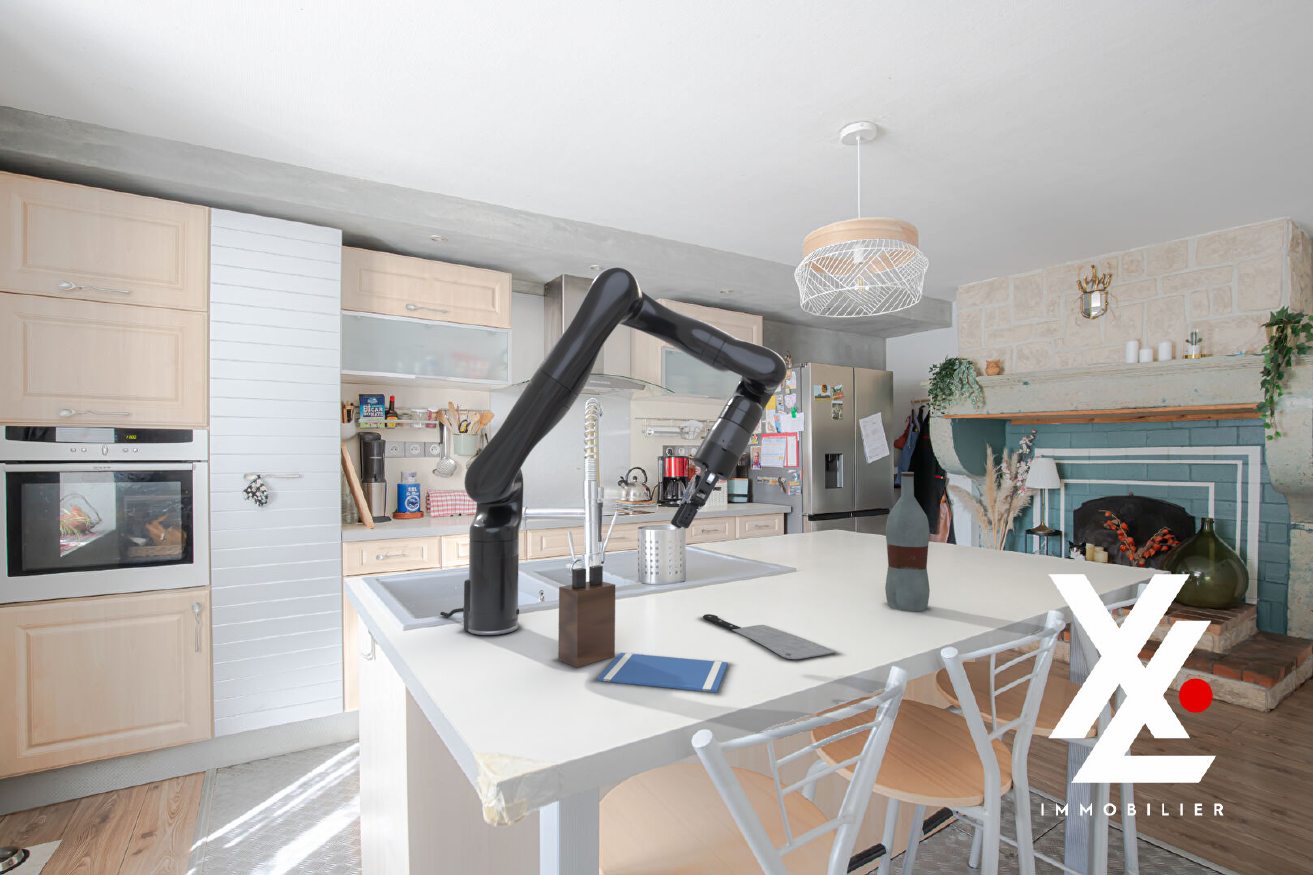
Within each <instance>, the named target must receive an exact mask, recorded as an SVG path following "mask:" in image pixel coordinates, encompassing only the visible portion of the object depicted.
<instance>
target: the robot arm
mask: <svg viewBox="0 0 1313 875" xmlns="http://www.w3.org/2000/svg"><path fill="white" fill-rule="evenodd" d="M618 325H622V326H625V327H628V328H630V329H633V330H636V331H640V332H642V333H645V334H647V335H649V336H652V337H654V338H656V339H658V340H660V341H662V342H664V343H666V344H668V345H669V346H672V347H673V348H675V349H677V350H678V351H680V352H682V353H684V354H685V355H687V356H689V357H691V358H693V359H695V360H696V361H698V362H701V363H702V364H704V365H706V366H708V367H709V368H711V369H714V370H716V371H718V372H721V373H727V372H732V373H734V374H737V375H739V376H741V378H740V379H739V381H738V383H737V385H736V387H735V389H734V391H733V393H732V395H731V396H730V397H729V398H728V400H727V402H726V403H725V405H724V406H723V408H722V409H721V411H720V413H719V415H718V416H717V419H716V420H715V421H714V423H713V424H712V425H711V426H710V428H709V430H708V432H707V433H706V434H705V437H704V438H703V439H702V442H701V443H700V445H699V447H698V449H697V451H696V452H695V454H694V456H693V457H692V463H693V464H694V465H695V466H696V467H697V468H699V469H700V472H699V473H698V474H697V473H696V474H694V475H693V476H692V477H691V479H690V481H689V484H688V485H687V487H686V488H685V490H684V492H683V495H682V497H681V498H680V500H679V505H678V508H677V510H676V511H675V514H674V515H673V517H672V519H671V520H670V525H672V526H673V527H675V528H677V529H682V528H684V529H689V527H690V526H691V524H692V522H693V521H694V519H695V518H696V515H697V514H698V512H699V511H700V510H701V509H702V508H704V506H706V504H707V501H708V500H709V498H710V495H711V493H712V492H713V491H714V489H715V487H716V484H717V483H718V482H719V480H721V481H728V480H730V479H731V477H732V475H733V473H734V470H735V469H736V467H737V465H738V464H739V462H740V460H741V459H742V457H743V455H744V453H745V451H746V449H747V447H748V445H749V442H750V440H751V437H752V436H753V434H754V433H755V431H756V429H757V427H758V425H759V423H760V421H761V419H762V417H763V412H764V410H765V408H766V407H767V405H768V404H769V402H770V400H771V399H772V397H773V396H774V394H775V392H776V391H777V389H778V388H779V387H780V385H781V384H782V383H783V382H784V380H785V379H786V376H787V372H788V367H787V364H786V362H785V360H784V358H783V357H782V356H781V355H779V354H778V353H777V352H775V351H774V350H772V349H770V348H769V347H766V346H763V345H760V344H757V343H753V342H751V341H748V340H742V339H739V338H736V337H735V336H733V335H732V334H730V333H728V332H726V331H724V330H722V329H720V328H718V327H716V326H714V325H713V324H710V323H708V322H706V321H704V320H701V319H698V318H696V317H693V316H689V315H686V314H683V313H681V312H679V311H676V310H674V309H672V308H669V307H668V306H666V305H664V304H662V303H660V302H658V300H656V299H654V298H653V297H651V296H650V295H648V294H647V293H646V292H645V291H643V289H641V286H640V284H639V282H638V280H637V278H636V277H635V275H634V274H633V273H632V272H631V271H630V270H628V269H627V268H625V267H621V266H613V267H609V268H607V269H604V270H602V271H600V272H599V273H598V275H596V276H595V278H593V281H592V283H591V284H590V286H589V288H588V290H587V292H586V294H585V296H584V298H583V300H582V302H581V304H580V305H579V307H578V309H577V311H576V313H575V315H574V316H573V318H572V319H571V322H570V323H569V325H568V326H567V328H566V329H565V331H563V333H562V334H561V336H560V337H559V338H558V339H557V341H555V343H554V345H553V346H552V348H551V349H550V351H549V352H548V354H547V355H546V356H545V358H544V359H543V361H542V362H541V363H540V364H539V366H538V368H537V369H536V371H535V372H534V374H533V375H532V376H531V378H530V379H529V381H528V383H527V384H526V386H525V387H524V389H523V391H522V392H521V393H520V395H519V397H518V398H517V400H516V401H515V404H513V406H512V408H511V410H510V411H509V413H508V415H507V416H506V418H505V420H504V421H503V423H502V424H501V426H500V427H499V428H498V430H497V432H496V433H495V434H494V435H493V436H492V438H491V439H490V440H489V441H488V442H487V444H486V445H485V446H484V447H483V448H482V450H480V452H479V453H478V454H477V456H476V457H475V458H474V459H473V461H472V462H471V463H470V464H469V466H468V468H467V469H466V472H465V474H464V475H465V476H464V484H463V485H464V490H465V492H466V494H467V496H468V498H470V500H471V501H473V502H474V503H476V507H475V508H476V509H475V514H474V518H473V520H472V522H471V523H470V525H469V532H468V534H469V537H468V539H469V540H468V544H469V545H468V548H469V549H468V558H469V559H468V578H467V579H465V580H464V582H463V607H460V608H454V609H452V610H450V611H449V612H445V611H440V613H439V615H440V616H442V617H445V618H450V617H452V616H453V615H454V614H456V613H463V614H462V618H463V632H468V633H470V634H473V635H478V636H498V635H505V634H509V633H512V632H515V631H516V630H518V629H519V616H520V609H519V572H520V571H519V568H520V567H519V558H520V557H519V556H520V554H519V553H520V550H519V549H520V527H521V524H522V521H523V509H524V508H523V507H524V474H523V470H522V469H521V468H522V467H523V465H524V463H525V461H526V460H527V458H528V457H529V455H530V454H531V452H532V451H533V450H534V448H536V447H537V445H538V444H539V443H540V442H541V441H542V440H543V439H544V438H545V437H547V435H548V434H549V433H550V432H551V431H552V430H553V429H555V427H556V426H557V425H558V424H559V423H560V422H561V421H563V419H564V418H565V417H566V415H567V414H568V413H569V411H570V410H571V408H572V407H573V405H574V404H575V403H576V401H577V399H578V398H579V396H580V395H581V394H582V392H583V390H584V389H585V387H586V385H587V383H588V380H589V378H590V376H591V373H592V371H593V369H594V366H595V364H596V361H597V358H598V356H599V354H600V352H601V349H602V348H603V346H604V344H605V342H607V340H608V338H609V337H610V336H611V334H612V333H613V332H614V330H616V328H617V327H618Z"/></svg>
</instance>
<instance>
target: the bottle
mask: <svg viewBox="0 0 1313 875" xmlns="http://www.w3.org/2000/svg"><path fill="white" fill-rule="evenodd" d="M900 474H901V480H900V481H901V485H900V497H899V498H898V500H897V502H896V503H895V504H894V506H893V508H892V509H891V510H890V512H888V514H887V518H886V524H885V531H884V532H885V540H886V552H887V571H886V578H885V588H884V590H885V597H886V603H887V606H888V607H889V608H891V609H894V610H899V611H903V612H922V611H926V610H927V609H928V605H929V600H930V590H931V589H930V580H929V574H928V573H929V572H928V556H929V544H930V535H931V532H930V524H929V519H928V516H927V513H925V511H924V510H923V508H922V506H921V505H920V503H919V502H918V500H917V498H916V497H915V485H914V484H915V482H914V479H915V478H914V477H915V476H914V474H915V472H913V471H902V472H900Z"/></svg>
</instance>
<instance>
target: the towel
mask: <svg viewBox="0 0 1313 875" xmlns="http://www.w3.org/2000/svg"><path fill="white" fill-rule="evenodd" d="M727 668H728V661H720V660H719V661H717V660H705V659H694V658H682V657H674V656H673V657H672V656H659V655H649V654H648V655H647V654H639V653H628V652H620V653H619V654H618V655H617V657H616V658H615V659H614V660H612V662H611V663H610V664H609V665H608V666H607V667H606V668H605V670H604V671H603V672H602V673H601V674H600V675H599V676H598V677H597V681H598V682H607V683H617V684H628V685H636V686H637V685H638V686H648V687H657V688H666V689H667V688H668V689H677V690H687V691H695V692H696V691H697V692H707V693H716V694H717V693H718V691H719V688H720V686H721V684H722V680H723V677H724V675H725V672H726V670H727Z"/></svg>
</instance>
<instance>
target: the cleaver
mask: <svg viewBox="0 0 1313 875" xmlns="http://www.w3.org/2000/svg"><path fill="white" fill-rule="evenodd" d="M702 619H704V620H706V621H707V622H710V623H713V624H715V625H717V626H720V627H722V628H724V629H726V630H729V631H732V632H735V633H737V634H740V635H742V636H744V637H746V638H748V639H750V640H752V641H754V642H756V643H758V644H759V645H761V646H763V647H765V648H766V649H769V650H770V651H772V652H773V653H775V654H777V655H778V656H780V657H782V658H784V659H788V660H789V659H790V660H801V659H802V660H803V659H808V658H813V657H818V656H819V657H820V656H825V655H830V654H835V653H837V651H836V650H833V649H831V648H828V647H827V646H824V645H821V644H819V643H816V642H814V641H811V640H809V639H806V638H803V637H800V636H797V635H795V634H792V633H788V632H787V631H784V630H780V629H778V628H775V627H771V626H769V625H766V624H757V625H750V626H744V627H741V626H738V625H735V624H733V623H731V622H728V621H726V620H723V619H721V618H720V617H719V615H715V614H710V613H707V614H704V615H702Z"/></svg>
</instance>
